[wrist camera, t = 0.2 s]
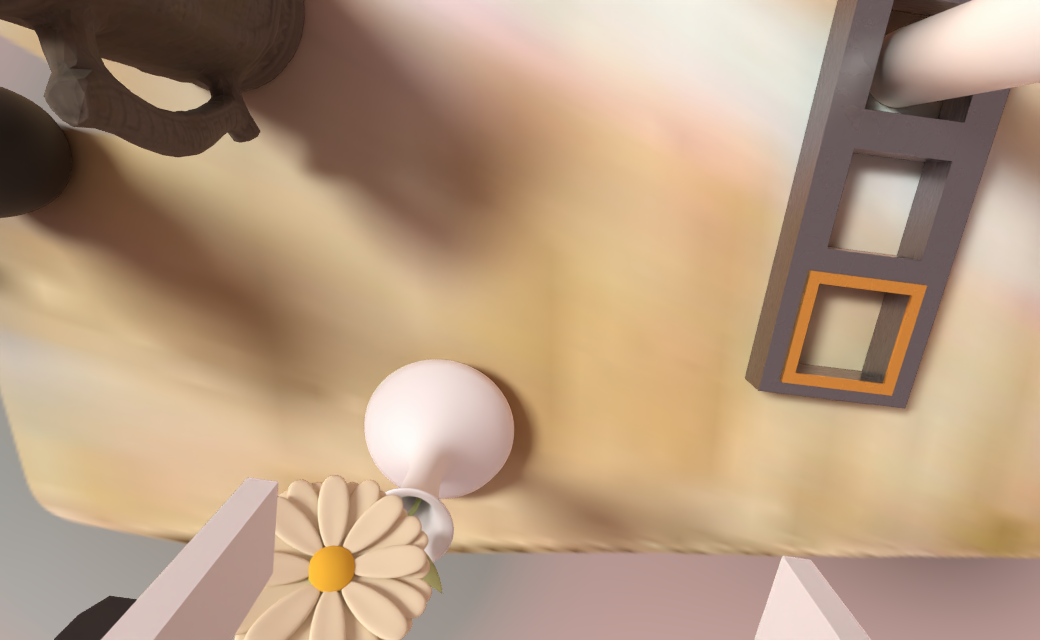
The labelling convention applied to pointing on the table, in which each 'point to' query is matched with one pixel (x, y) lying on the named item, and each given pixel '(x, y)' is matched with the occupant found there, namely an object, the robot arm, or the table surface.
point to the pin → (960, 53)
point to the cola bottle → (29, 156)
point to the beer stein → (161, 62)
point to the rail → (814, 203)
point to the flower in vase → (384, 511)
